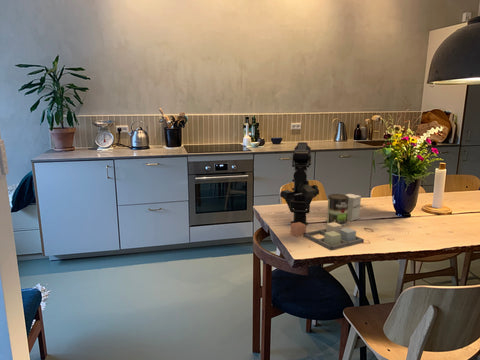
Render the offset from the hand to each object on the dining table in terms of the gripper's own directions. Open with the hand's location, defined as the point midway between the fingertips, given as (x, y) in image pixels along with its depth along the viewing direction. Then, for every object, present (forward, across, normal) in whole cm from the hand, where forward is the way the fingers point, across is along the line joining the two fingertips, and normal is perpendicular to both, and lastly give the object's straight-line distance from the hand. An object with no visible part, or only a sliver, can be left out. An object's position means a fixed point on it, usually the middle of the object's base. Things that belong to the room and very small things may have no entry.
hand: (299, 210), depth 181 cm
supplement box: (+12, +39, +6) cm, 41 cm away
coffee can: (+12, +28, +4) cm, 31 cm away
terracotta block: (+12, 0, 0) cm, 12 cm away
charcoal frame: (+12, +10, -13) cm, 20 cm away
